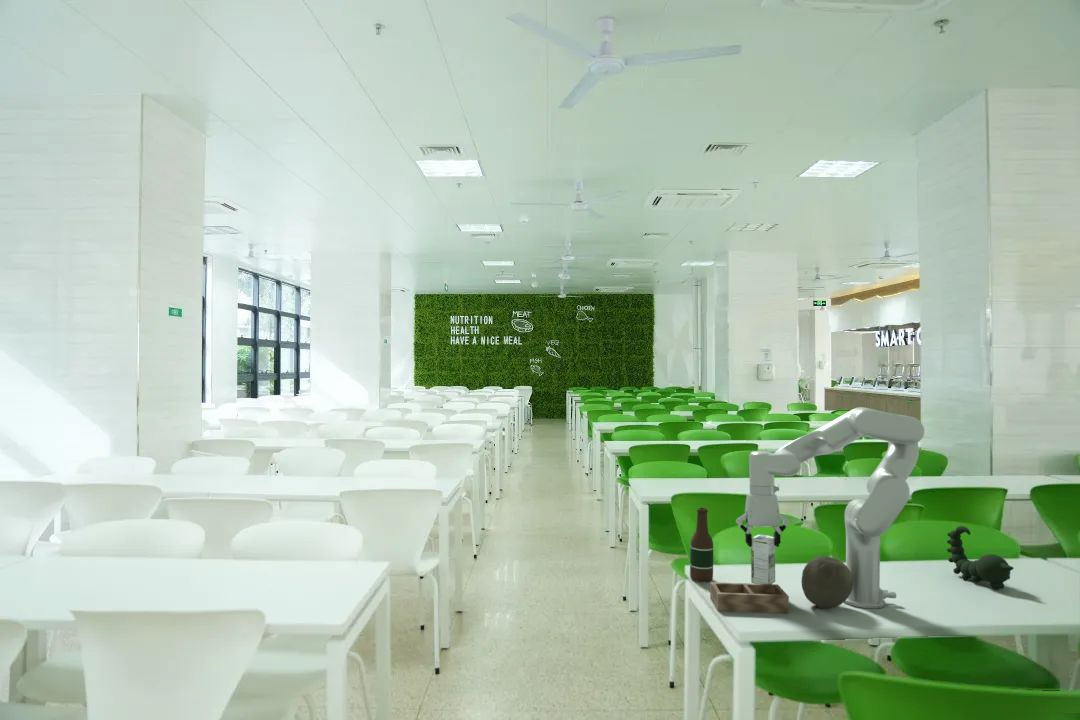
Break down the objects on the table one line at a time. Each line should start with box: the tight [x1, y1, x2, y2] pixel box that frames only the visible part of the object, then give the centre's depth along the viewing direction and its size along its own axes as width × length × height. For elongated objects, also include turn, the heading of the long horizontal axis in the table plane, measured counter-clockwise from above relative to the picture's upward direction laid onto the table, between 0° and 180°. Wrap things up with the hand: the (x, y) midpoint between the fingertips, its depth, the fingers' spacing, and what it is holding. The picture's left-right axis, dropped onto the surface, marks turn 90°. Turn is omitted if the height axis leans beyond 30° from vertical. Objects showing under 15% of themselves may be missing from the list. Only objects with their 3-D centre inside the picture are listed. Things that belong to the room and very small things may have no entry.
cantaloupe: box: [800, 555, 853, 610], centre depth 204 cm, size 14×14×15 cm
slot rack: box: [709, 581, 790, 614], centre depth 205 cm, size 21×11×5 cm, turn 87°
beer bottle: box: [689, 507, 714, 583], centre depth 230 cm, size 8×8×24 cm
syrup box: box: [750, 534, 776, 584], centre depth 215 cm, size 6×6×14 cm
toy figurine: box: [946, 525, 1014, 591], centre depth 230 cm, size 9×19×25 cm
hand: (763, 545), depth 215 cm, fingers closed on syrup box, 7 cm apart
